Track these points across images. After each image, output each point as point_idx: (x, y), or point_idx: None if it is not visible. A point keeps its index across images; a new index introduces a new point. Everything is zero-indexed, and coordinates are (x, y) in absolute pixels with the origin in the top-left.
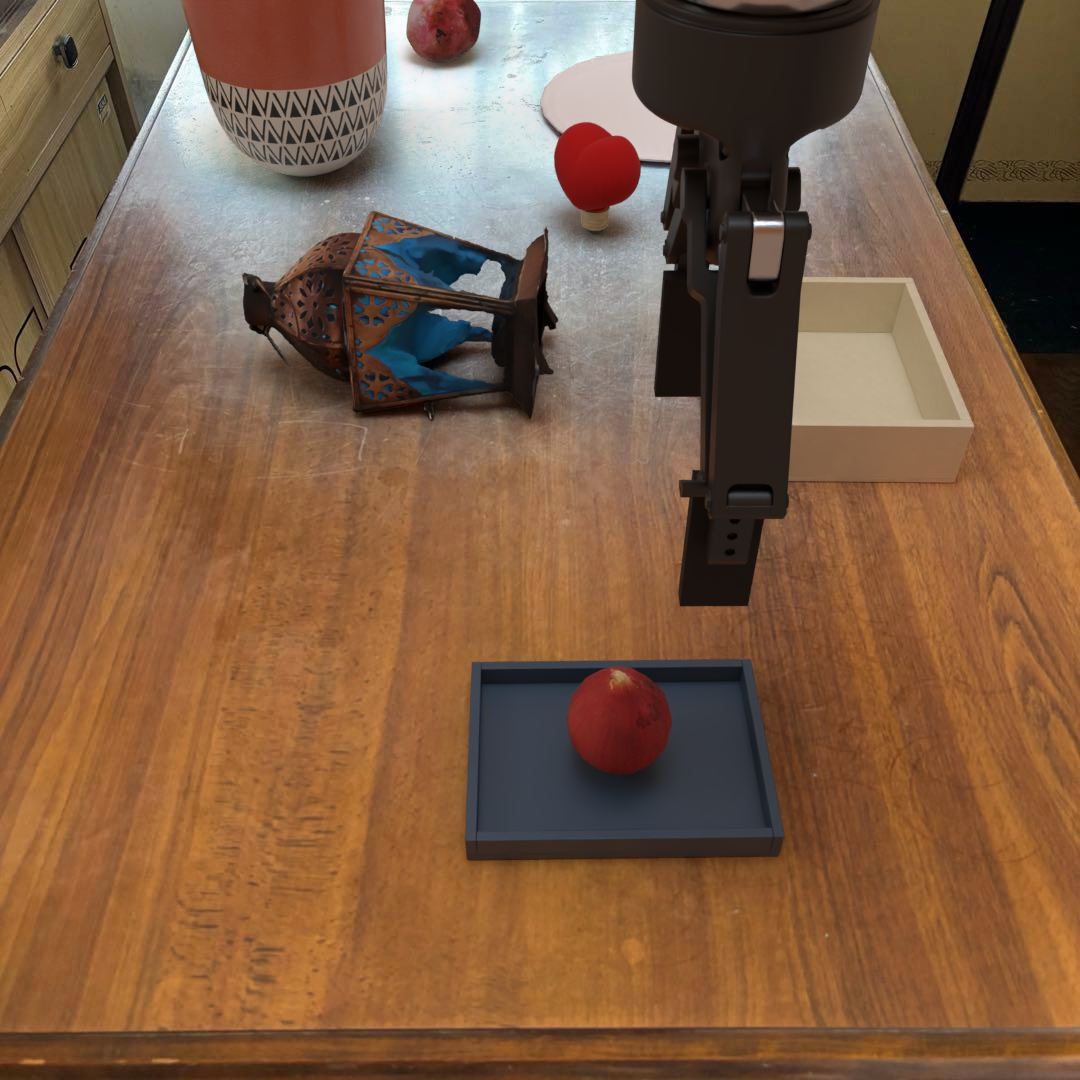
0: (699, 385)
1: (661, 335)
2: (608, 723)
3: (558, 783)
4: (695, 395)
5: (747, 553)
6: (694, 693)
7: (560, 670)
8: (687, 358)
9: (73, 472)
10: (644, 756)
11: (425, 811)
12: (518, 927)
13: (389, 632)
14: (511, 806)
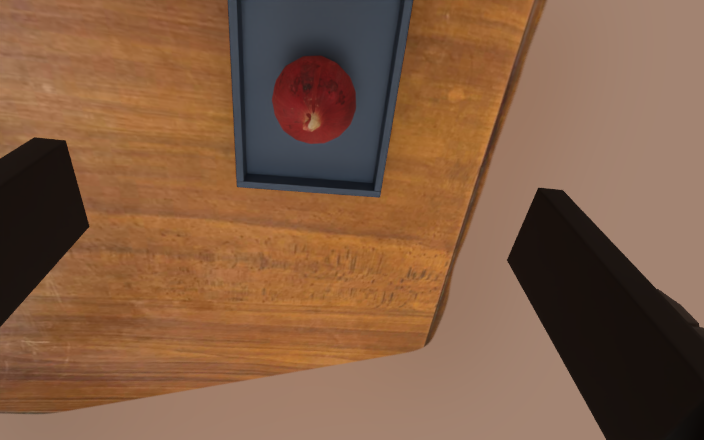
0: (56, 173)
1: (7, 315)
2: (340, 126)
3: None
4: (71, 168)
5: (686, 314)
6: (254, 5)
7: (242, 124)
8: (26, 232)
9: (85, 383)
10: (353, 88)
11: (341, 206)
12: (425, 161)
13: (198, 224)
14: (348, 161)
